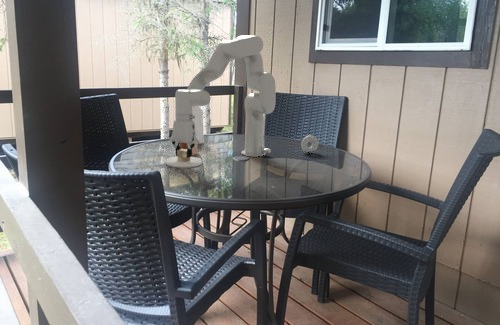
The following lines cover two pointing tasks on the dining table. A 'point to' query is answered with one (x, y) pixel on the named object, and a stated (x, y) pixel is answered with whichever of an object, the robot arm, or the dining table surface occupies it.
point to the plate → (179, 164)
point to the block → (182, 155)
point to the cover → (185, 146)
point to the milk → (198, 123)
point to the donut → (305, 142)
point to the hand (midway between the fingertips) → (183, 155)
